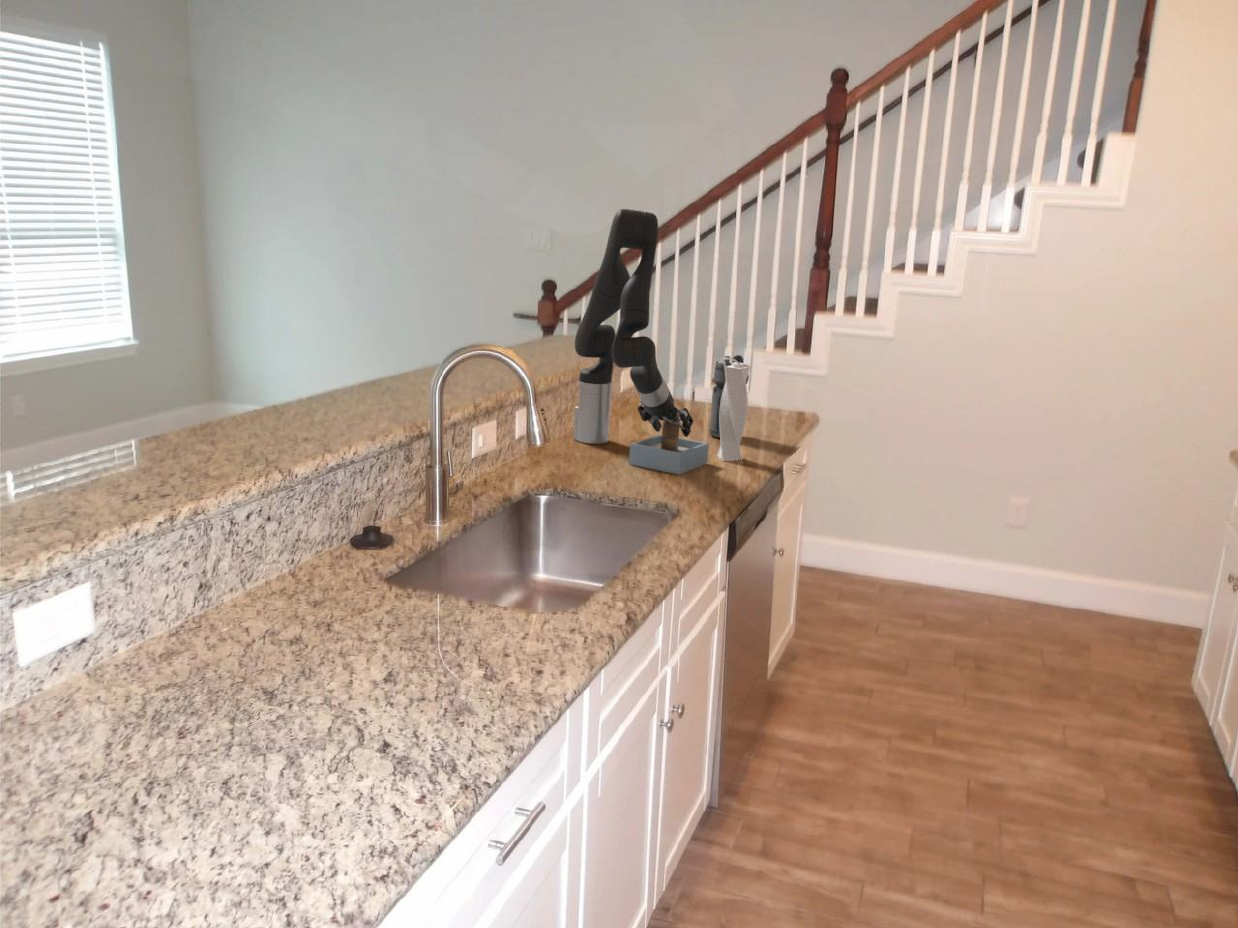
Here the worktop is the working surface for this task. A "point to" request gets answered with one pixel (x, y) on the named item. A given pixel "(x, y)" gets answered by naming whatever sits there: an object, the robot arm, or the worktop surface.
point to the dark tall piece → (719, 393)
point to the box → (668, 455)
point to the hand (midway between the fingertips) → (673, 431)
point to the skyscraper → (733, 410)
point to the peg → (670, 436)
